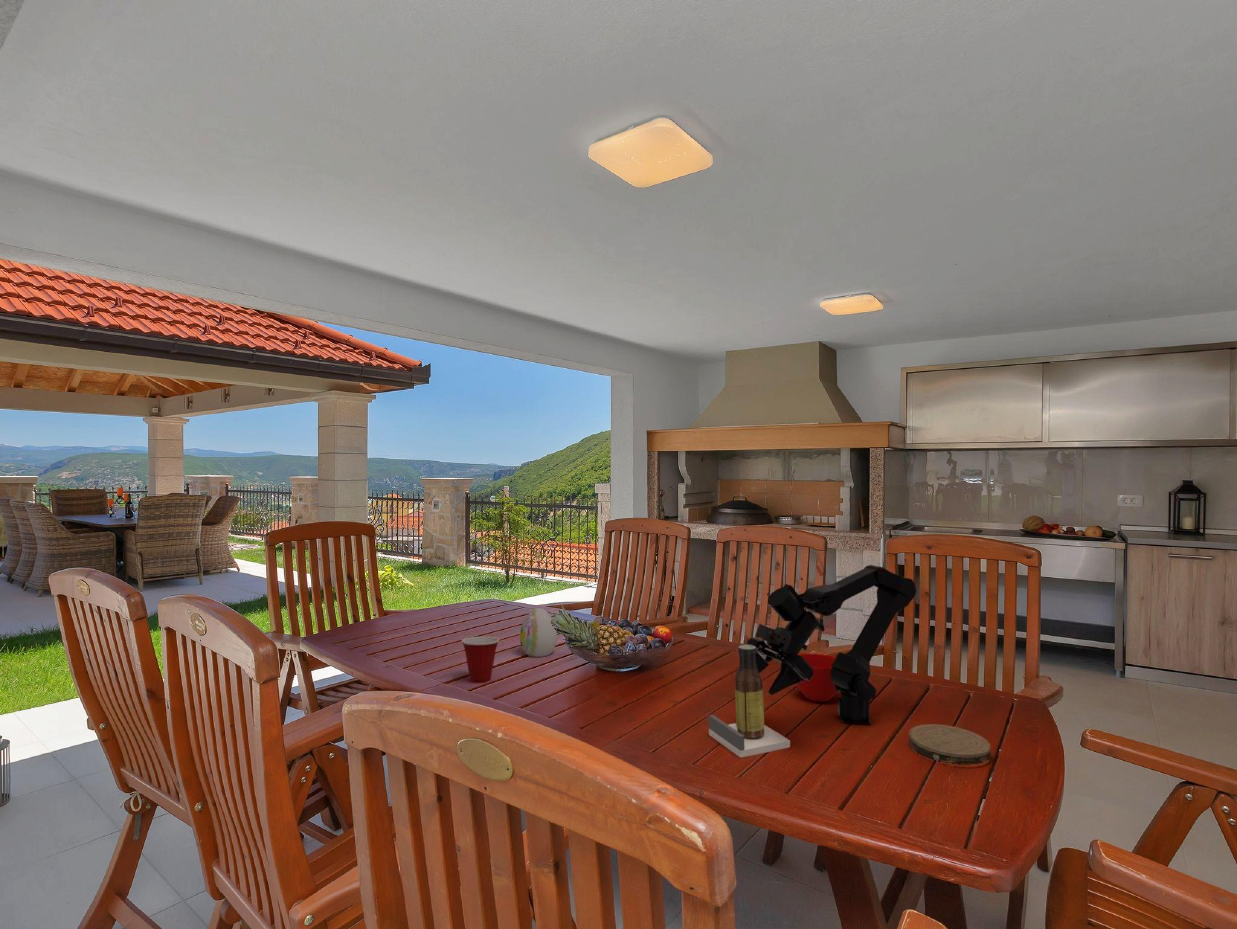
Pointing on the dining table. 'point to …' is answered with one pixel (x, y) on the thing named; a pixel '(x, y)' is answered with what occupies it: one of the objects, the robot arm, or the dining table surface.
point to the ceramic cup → (818, 678)
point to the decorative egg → (538, 634)
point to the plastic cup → (480, 657)
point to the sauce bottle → (749, 695)
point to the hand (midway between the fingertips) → (757, 687)
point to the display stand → (745, 739)
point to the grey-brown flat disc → (949, 744)
